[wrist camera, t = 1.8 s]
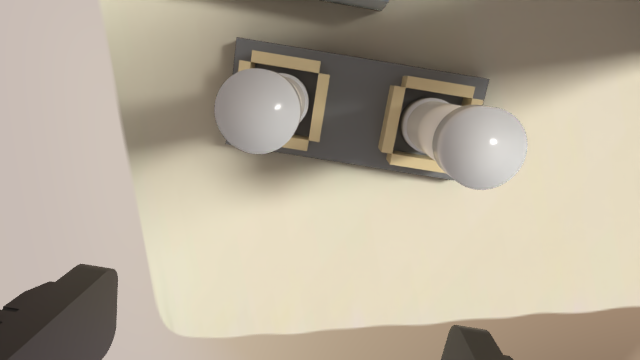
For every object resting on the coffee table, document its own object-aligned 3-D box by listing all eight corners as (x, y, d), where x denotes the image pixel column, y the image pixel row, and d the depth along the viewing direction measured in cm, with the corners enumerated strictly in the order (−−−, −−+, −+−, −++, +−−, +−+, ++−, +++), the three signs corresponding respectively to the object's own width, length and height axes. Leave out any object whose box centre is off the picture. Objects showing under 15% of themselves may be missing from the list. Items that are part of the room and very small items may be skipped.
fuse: (456, 101, 30) (537, 114, 19) (444, 153, 31) (514, 195, 20) (404, 93, 30) (454, 100, 19) (394, 145, 31) (434, 182, 20)
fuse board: (481, 79, 31) (500, 78, 28) (457, 177, 33) (472, 188, 30) (240, 39, 31) (230, 34, 28) (230, 141, 33) (218, 147, 30)
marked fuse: (313, 78, 30) (305, 75, 19) (305, 130, 31) (292, 160, 19) (260, 69, 30) (218, 61, 18) (254, 122, 31) (210, 147, 19)
